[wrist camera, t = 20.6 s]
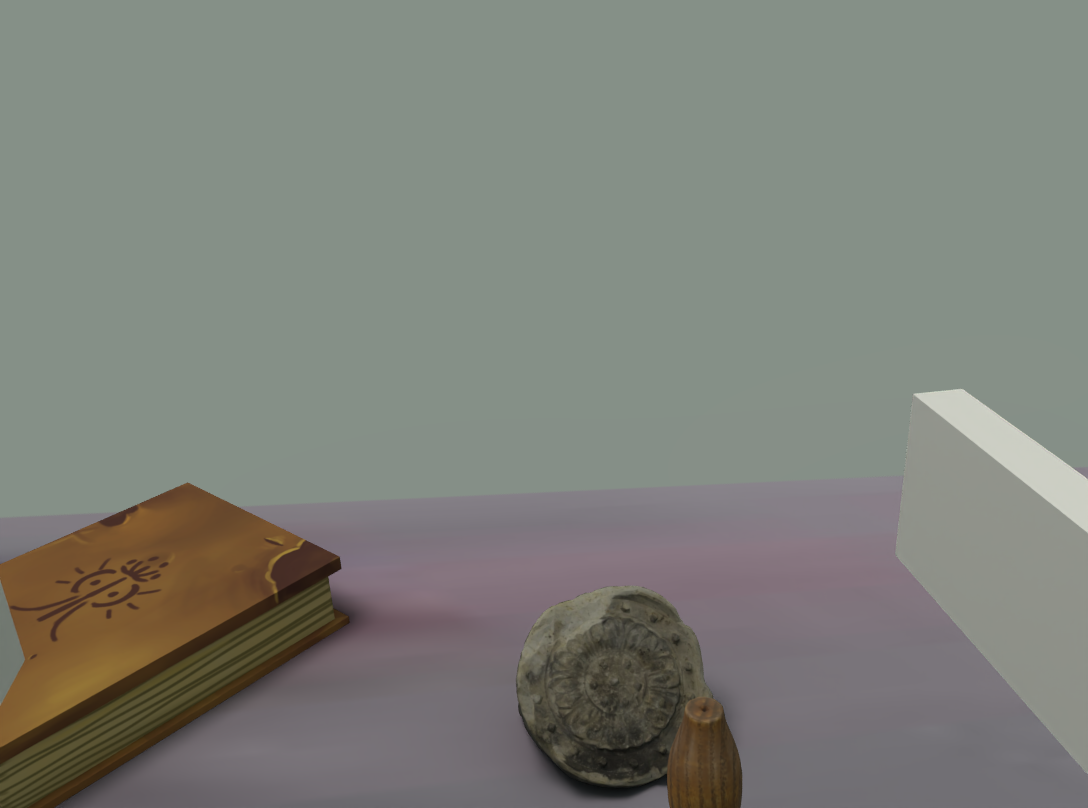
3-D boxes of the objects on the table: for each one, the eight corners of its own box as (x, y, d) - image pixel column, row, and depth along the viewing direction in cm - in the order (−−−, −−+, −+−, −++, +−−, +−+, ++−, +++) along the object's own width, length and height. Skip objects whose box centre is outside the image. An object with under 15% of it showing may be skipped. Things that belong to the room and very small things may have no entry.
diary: (195, 545, 78) (182, 479, 76) (350, 630, 67) (340, 556, 64) (-131, 700, 62) (-160, 623, 60) (0, 848, 51) (-30, 759, 48)
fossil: (596, 834, 48) (526, 641, 48) (511, 800, 56) (451, 635, 56) (753, 730, 54) (690, 557, 54) (655, 713, 62) (600, 562, 62)
